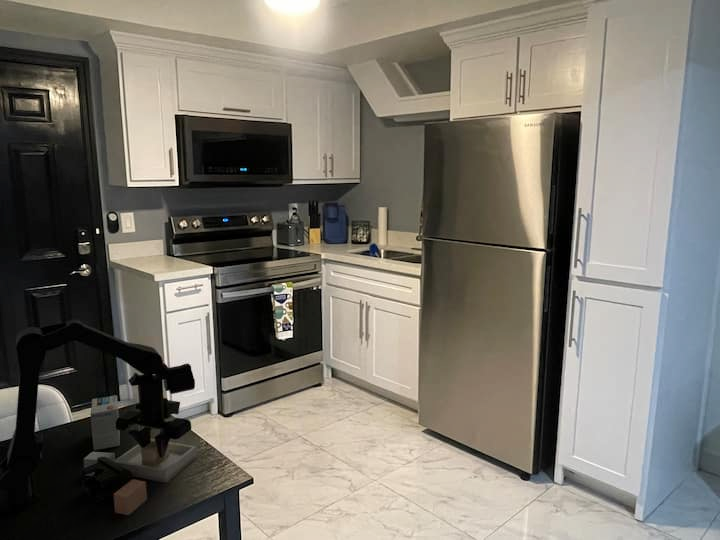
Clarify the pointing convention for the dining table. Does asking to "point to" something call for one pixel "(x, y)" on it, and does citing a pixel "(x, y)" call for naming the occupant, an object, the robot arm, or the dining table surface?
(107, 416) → the light bulb box
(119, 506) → the terracotta block
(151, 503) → the dining table surface
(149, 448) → the maple block
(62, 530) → the dining table surface
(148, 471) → the tray
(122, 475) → the end cap
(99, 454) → the pale blue block
